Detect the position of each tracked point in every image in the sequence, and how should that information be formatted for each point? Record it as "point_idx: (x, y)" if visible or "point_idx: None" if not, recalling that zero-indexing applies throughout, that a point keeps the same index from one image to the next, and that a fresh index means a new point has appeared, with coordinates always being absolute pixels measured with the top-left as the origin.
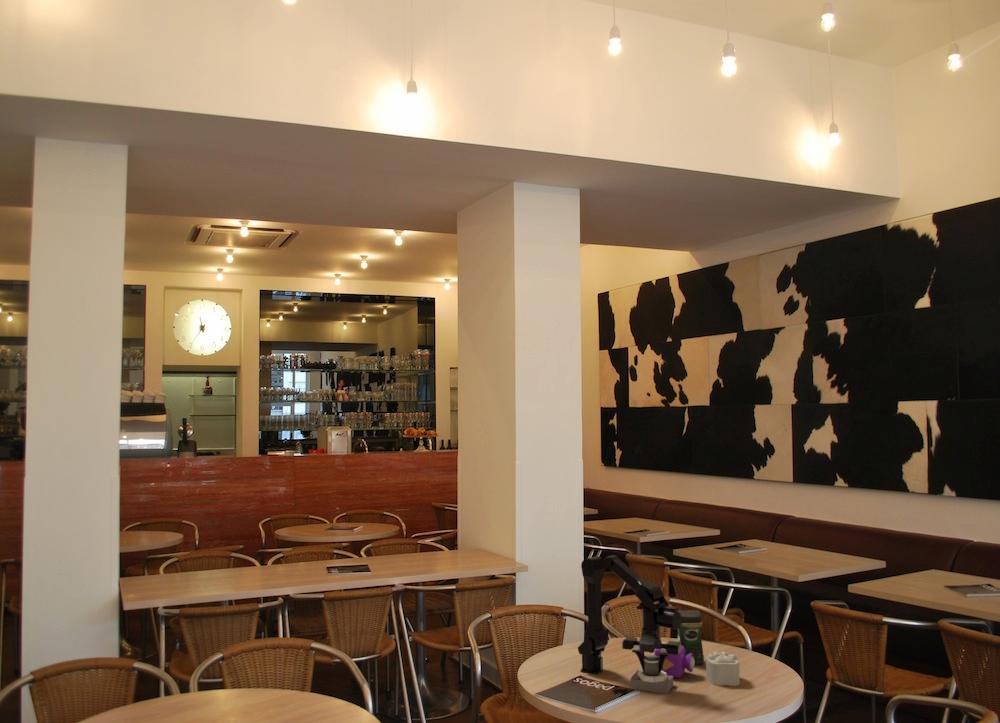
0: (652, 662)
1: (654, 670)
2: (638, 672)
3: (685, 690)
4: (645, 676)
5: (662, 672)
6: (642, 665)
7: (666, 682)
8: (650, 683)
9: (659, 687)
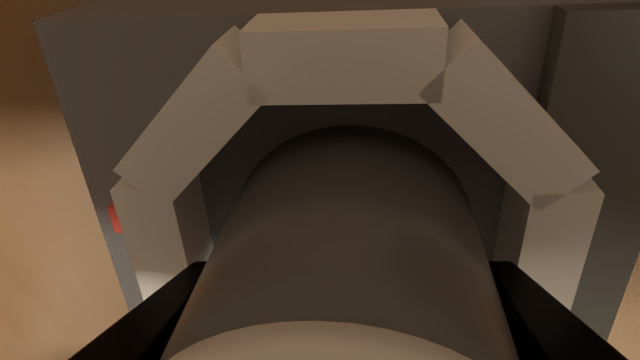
0: (240, 342)
1: (247, 216)
2: (589, 220)
3: (8, 184)
4: (418, 46)
5: None
6: (554, 323)
7: (83, 99)
8: (317, 5)
9: (183, 5)
